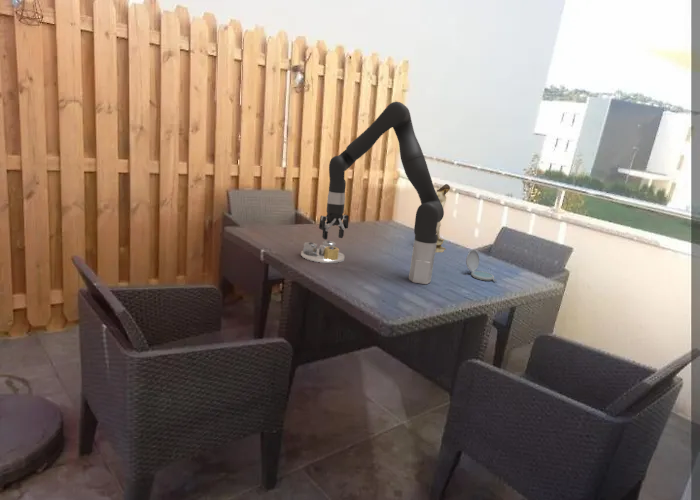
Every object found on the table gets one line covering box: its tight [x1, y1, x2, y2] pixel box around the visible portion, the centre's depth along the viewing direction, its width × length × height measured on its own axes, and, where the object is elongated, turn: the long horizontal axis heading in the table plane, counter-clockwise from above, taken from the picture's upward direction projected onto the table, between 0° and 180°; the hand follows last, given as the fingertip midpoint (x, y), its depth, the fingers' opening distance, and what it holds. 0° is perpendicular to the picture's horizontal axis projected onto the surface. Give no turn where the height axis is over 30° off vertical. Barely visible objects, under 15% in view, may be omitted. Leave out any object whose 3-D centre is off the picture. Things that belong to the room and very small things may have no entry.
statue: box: [412, 183, 451, 254], centre depth 252 cm, size 17×17×35 cm
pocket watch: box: [465, 249, 497, 282], centre depth 211 cm, size 10×11×15 cm
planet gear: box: [324, 246, 340, 260], centre depth 211 cm, size 6×6×4 cm
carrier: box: [300, 240, 346, 264], centre depth 215 cm, size 20×20×6 cm
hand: (332, 238), depth 209 cm, fingers open, 8 cm apart
